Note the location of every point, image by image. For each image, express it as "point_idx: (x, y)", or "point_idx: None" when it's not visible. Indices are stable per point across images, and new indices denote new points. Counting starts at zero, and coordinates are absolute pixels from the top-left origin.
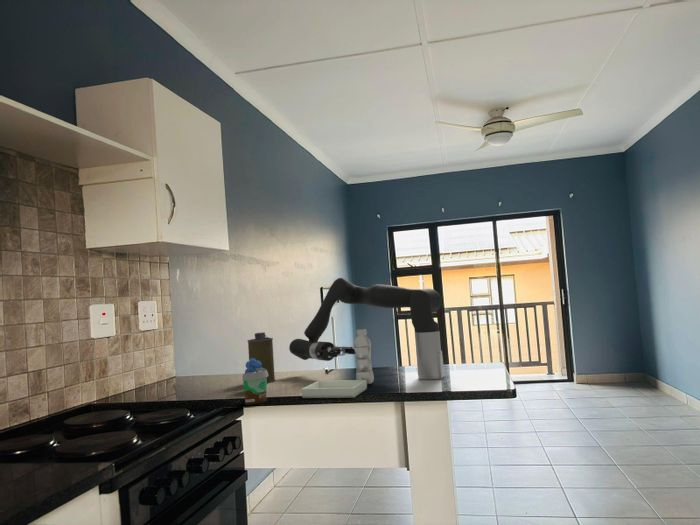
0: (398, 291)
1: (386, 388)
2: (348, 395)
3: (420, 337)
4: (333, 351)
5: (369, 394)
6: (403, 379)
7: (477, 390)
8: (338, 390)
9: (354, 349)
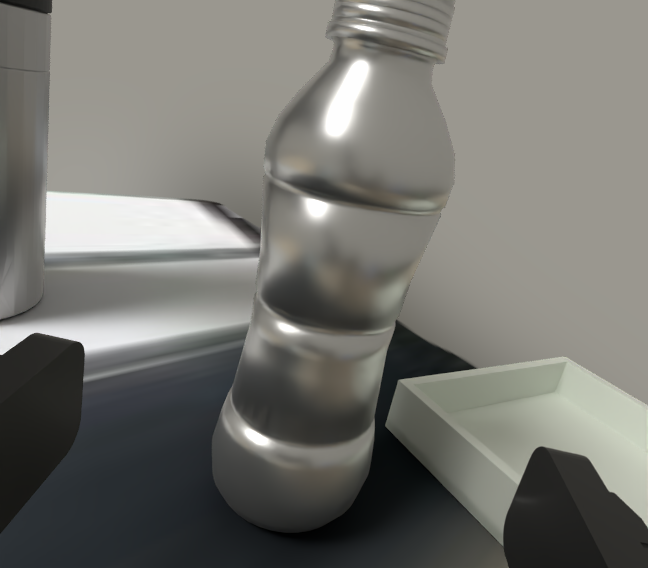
0: None
1: None
2: (574, 399)
3: (44, 49)
4: (614, 511)
5: None
6: None
7: (224, 222)
8: (629, 406)
9: (423, 235)
